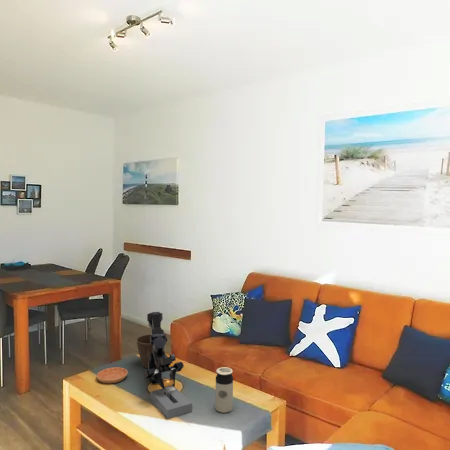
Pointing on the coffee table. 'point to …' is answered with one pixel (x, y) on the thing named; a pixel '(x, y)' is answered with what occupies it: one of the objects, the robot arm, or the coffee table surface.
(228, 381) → the travel mug
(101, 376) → the saucer
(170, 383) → the lever handle
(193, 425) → the coffee table surface
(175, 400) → the block
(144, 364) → the plant pot
